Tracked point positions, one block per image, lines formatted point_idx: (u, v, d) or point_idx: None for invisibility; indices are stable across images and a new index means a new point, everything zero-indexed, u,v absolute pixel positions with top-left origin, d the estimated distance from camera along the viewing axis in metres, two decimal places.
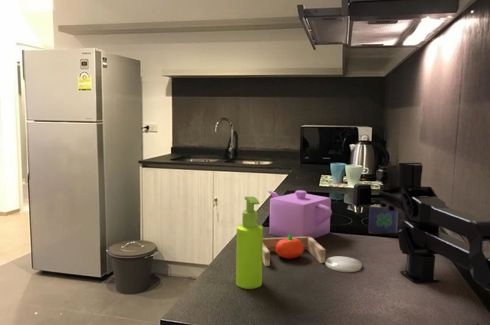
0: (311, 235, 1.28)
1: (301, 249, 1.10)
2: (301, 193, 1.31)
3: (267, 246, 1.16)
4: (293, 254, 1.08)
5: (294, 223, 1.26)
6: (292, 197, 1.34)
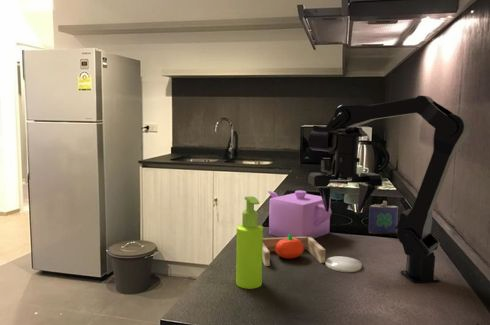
0: (311, 235, 1.28)
1: (301, 249, 1.10)
2: (301, 193, 1.31)
3: (267, 246, 1.16)
4: (293, 254, 1.08)
5: (293, 223, 1.26)
6: (292, 197, 1.34)
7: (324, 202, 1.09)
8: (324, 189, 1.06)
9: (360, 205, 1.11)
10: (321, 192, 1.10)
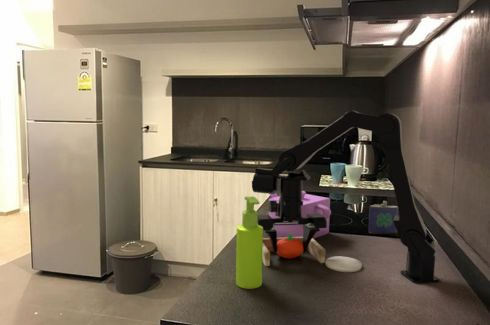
0: None
1: (301, 249, 1.10)
2: None
3: (267, 246, 1.16)
4: (293, 253, 1.08)
5: None
6: None
7: (272, 244, 1.10)
8: (270, 233, 1.07)
9: (304, 246, 1.12)
10: (269, 234, 1.11)
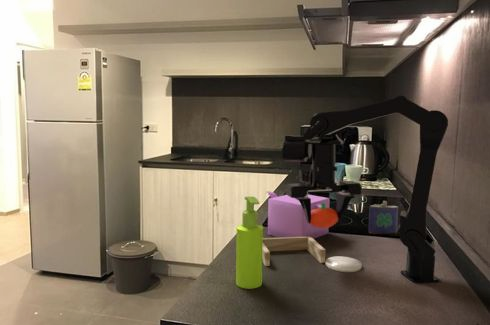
0: (310, 236, 1.27)
1: (336, 217, 1.05)
2: None
3: (267, 246, 1.16)
4: (328, 222, 1.04)
5: (292, 223, 1.25)
6: (290, 197, 1.33)
7: (305, 213, 1.06)
8: (304, 200, 1.03)
9: (338, 214, 1.07)
10: (302, 203, 1.07)
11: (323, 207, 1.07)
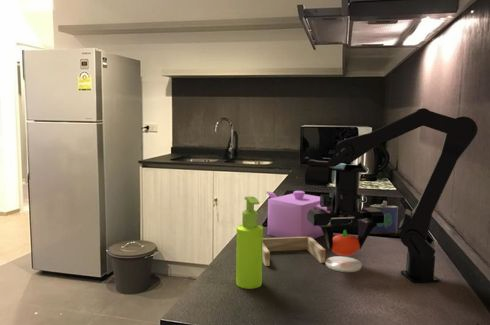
0: None
1: (358, 245, 1.04)
2: (299, 193, 1.30)
3: (267, 246, 1.16)
4: (350, 251, 1.02)
5: (292, 223, 1.25)
6: (290, 197, 1.33)
7: (327, 240, 1.04)
8: (327, 228, 1.01)
9: (360, 242, 1.05)
10: (323, 230, 1.05)
11: (345, 234, 1.05)
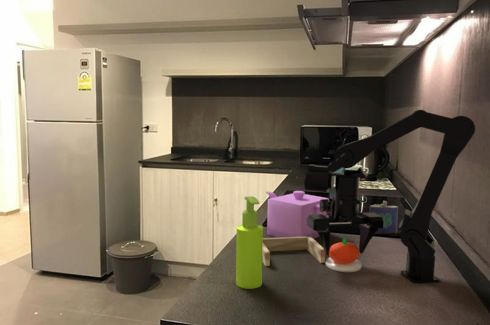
0: None
1: (357, 254, 1.04)
2: (299, 193, 1.30)
3: (267, 246, 1.16)
4: (349, 259, 1.03)
5: (292, 224, 1.25)
6: (290, 197, 1.33)
7: (324, 245, 1.04)
8: (324, 233, 1.01)
9: (362, 247, 1.06)
10: (320, 235, 1.05)
11: (344, 242, 1.06)
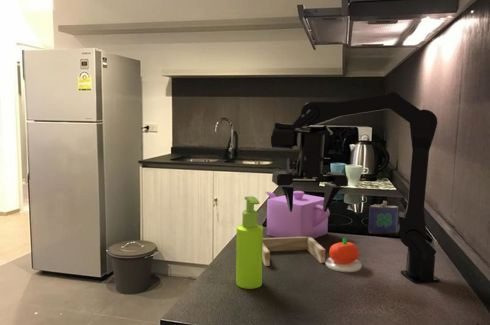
0: None
1: (357, 254, 1.04)
2: (299, 194, 1.30)
3: (267, 246, 1.16)
4: (349, 259, 1.03)
5: (291, 224, 1.25)
6: None
7: (288, 202, 1.06)
8: (287, 188, 1.03)
9: (325, 205, 1.07)
10: (285, 191, 1.07)
11: (344, 242, 1.06)
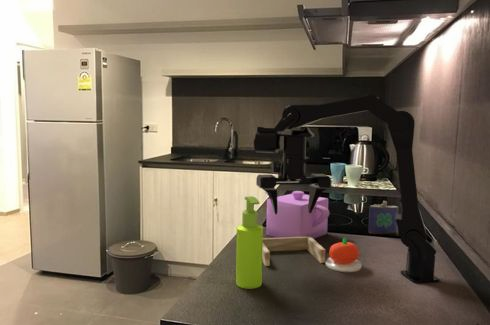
0: None
1: (357, 254, 1.04)
2: (298, 194, 1.30)
3: (267, 246, 1.16)
4: (349, 259, 1.03)
5: (291, 224, 1.25)
6: (289, 198, 1.33)
7: (272, 204, 1.07)
8: (271, 191, 1.04)
9: (310, 206, 1.08)
10: (269, 194, 1.08)
11: (344, 242, 1.06)
